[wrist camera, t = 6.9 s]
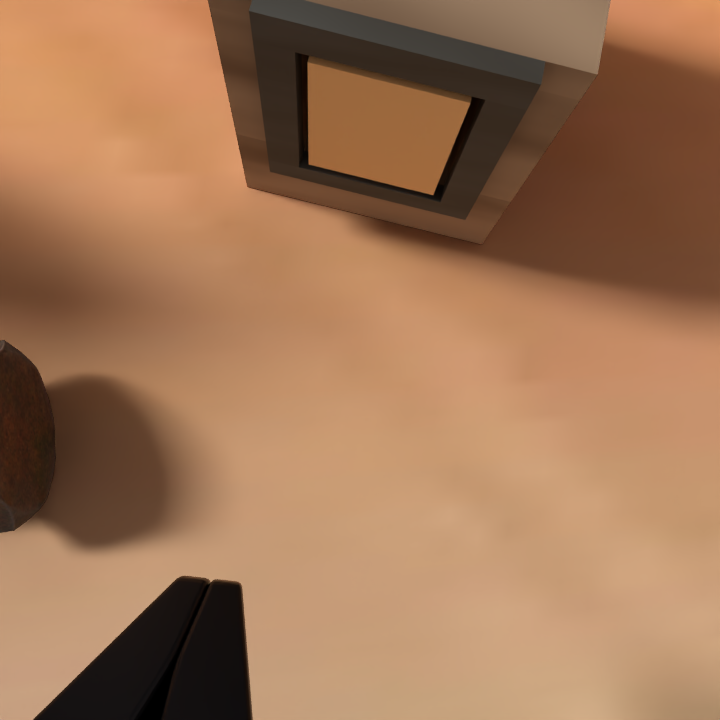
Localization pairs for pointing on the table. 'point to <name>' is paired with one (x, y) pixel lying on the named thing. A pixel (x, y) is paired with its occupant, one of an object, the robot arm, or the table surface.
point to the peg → (380, 125)
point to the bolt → (23, 439)
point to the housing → (417, 64)
